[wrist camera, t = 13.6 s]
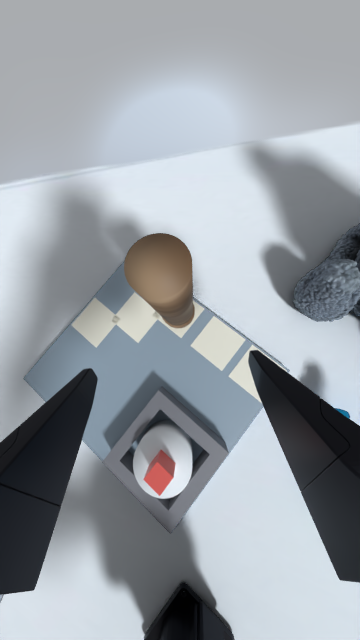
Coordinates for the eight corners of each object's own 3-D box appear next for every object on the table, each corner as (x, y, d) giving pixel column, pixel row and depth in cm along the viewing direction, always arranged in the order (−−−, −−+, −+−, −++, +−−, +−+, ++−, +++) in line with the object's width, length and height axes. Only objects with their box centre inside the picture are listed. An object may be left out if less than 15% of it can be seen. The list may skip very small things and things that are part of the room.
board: (172, 525, 19) (168, 556, 16) (29, 377, 22) (6, 381, 20) (285, 369, 20) (300, 372, 17) (133, 255, 24) (126, 243, 21)
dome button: (170, 489, 18) (162, 534, 14) (130, 450, 19) (112, 481, 15) (203, 445, 18) (206, 475, 14) (163, 409, 19) (154, 427, 15)
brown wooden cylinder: (175, 335, 21) (148, 317, 9) (156, 309, 21) (106, 259, 9) (201, 315, 21) (212, 270, 9) (181, 290, 22) (165, 216, 9)
